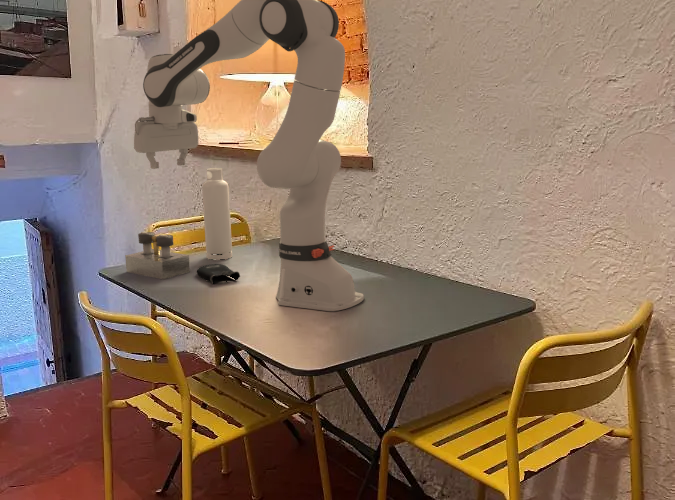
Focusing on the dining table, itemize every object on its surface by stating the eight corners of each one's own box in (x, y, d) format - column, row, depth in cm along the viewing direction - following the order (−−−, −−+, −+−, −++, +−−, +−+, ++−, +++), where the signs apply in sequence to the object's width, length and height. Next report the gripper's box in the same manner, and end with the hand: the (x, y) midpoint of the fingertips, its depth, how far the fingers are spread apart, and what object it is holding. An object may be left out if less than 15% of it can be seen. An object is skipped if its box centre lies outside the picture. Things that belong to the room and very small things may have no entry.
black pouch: (243, 285, 192) (222, 268, 204) (241, 267, 190) (220, 250, 201) (212, 295, 188) (192, 276, 199) (209, 277, 185) (189, 259, 197)
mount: (190, 271, 201) (188, 255, 200) (163, 279, 193) (161, 262, 192) (153, 265, 210) (152, 249, 209) (126, 272, 202) (125, 255, 201)
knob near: (178, 259, 199) (176, 234, 197) (165, 262, 195) (163, 237, 194) (167, 257, 202) (165, 233, 200) (154, 261, 198) (152, 236, 196)
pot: (162, 254, 201) (161, 236, 200) (156, 255, 199) (155, 237, 198) (157, 253, 202) (155, 235, 201) (151, 254, 200) (149, 236, 199)
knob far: (159, 256, 204) (157, 232, 202) (147, 259, 200) (145, 234, 198) (149, 254, 206) (147, 230, 205) (136, 257, 203) (134, 233, 201)
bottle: (201, 257, 219) (195, 169, 213) (223, 253, 224) (218, 166, 218) (215, 261, 213) (210, 170, 207) (237, 257, 219) (232, 168, 212)
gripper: (142, 118, 178) (145, 171, 181) (201, 115, 194) (202, 164, 198) (127, 117, 182) (130, 169, 185) (185, 114, 198) (187, 162, 201)
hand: (168, 166), depth 191 cm, fingers open, 8 cm apart
